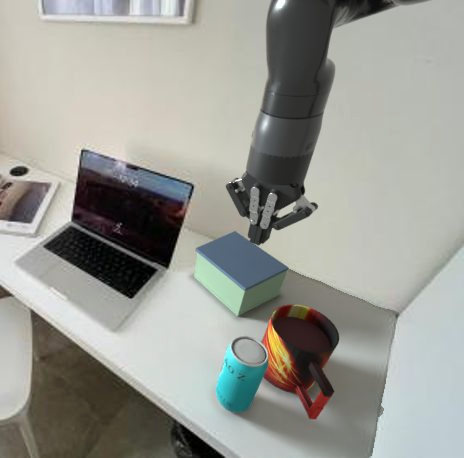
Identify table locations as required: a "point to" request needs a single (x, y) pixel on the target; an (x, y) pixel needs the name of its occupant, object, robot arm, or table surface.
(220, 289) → the storage box
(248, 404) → the beverage can
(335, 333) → the mug
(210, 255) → the box lid
